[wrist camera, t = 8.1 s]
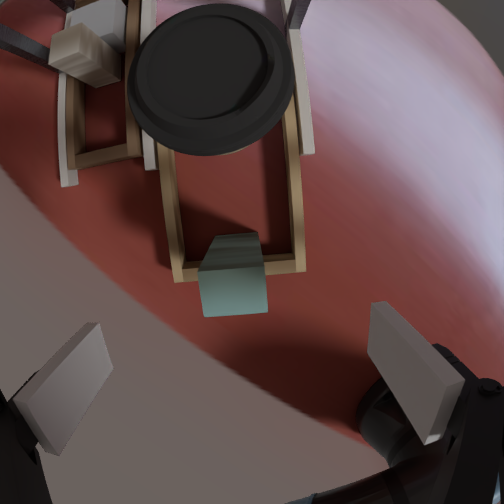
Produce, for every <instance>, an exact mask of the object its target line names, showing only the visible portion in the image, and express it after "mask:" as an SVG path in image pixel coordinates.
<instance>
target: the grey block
mask: <svg viewBox="0 0 504 504" xmlns="http://www.w3.org/2000/svg"><path fill="white" fill-rule="evenodd" d="M127 13H128V8H127V7H126V6H125V5H124V3H123V2H122V1H121V0H99V1H96V2H94V3H91V4H89V5H86V6H84V7H81V8H79V9H76V10H74V11H73V12H72V18H71V24H70V27H71V26H74V25H76V24H78V23H81V22H82V23H84V24H85V25H86V26H87V27H88V28H89V29H91V30H92V31H93V32H94V33H95V34H97V35H98V36H99V37H100V38H101V39H102V40H103V41H105V42H106V43H107V44H108V45H109V46H110V47H112V48H113V49H114V50H115V51H116V52H117V53H118V54H120V53H123V52H125V48H126V28H127Z"/></svg>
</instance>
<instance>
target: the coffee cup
mask: <svg viewBox="0 0 504 504" xmlns="http://www.w3.org/2000/svg"><path fill="white" fill-rule="evenodd" d="M294 83H295V72H294V65H293V61H292V56H291V52H290V49H289V46H288V44H287V42H286V40H285V38H284V36H283V35H282V33H281V32H280V31H279V29H278V28H277V27H276V26H275V25H274V24H273V23H272V22H271V21H269V20H268V19H267V18H265V17H264V16H262V15H261V14H259V13H257V12H255V11H253V10H251V9H248V8H245V7H241V6H237V5H231V4H207V5H201V6H196V7H193V8H190V9H187V10H184V11H182V12H179V13H177V14H175V15H173V16H172V17H170V18H168V19H167V20H165V21H164V22H162V23H161V24H160V25H159V26H157V27H156V28H155V29H154V30H153V31H152V32H151V33H150V34H149V35H148V36H147V37H146V38H145V40H144V41H143V42H142V44H141V45H140V47H139V48H138V50H137V52H136V54H135V56H134V58H133V60H132V63H131V66H130V69H129V73H128V79H127V96H128V102H129V106H130V109H131V112H132V114H133V116H134V118H135V120H136V121H137V123H138V124H139V126H140V127H141V128H142V129H143V130H144V131H145V132H146V133H147V134H148V135H149V136H150V137H151V138H153V139H154V140H155V141H157V142H158V143H160V144H161V145H163V146H165V147H167V148H169V149H171V150H174V151H177V152H180V153H184V154H188V155H196V156H213V155H227V154H231V153H235V152H238V151H240V150H242V149H244V148H246V147H247V146H249V145H250V144H252V143H254V142H255V141H257V140H259V139H260V138H261V137H263V136H264V135H265V134H267V133H268V132H269V131H270V130H271V129H272V128H273V127H274V126H275V125H276V124H277V123H278V121H279V120H280V119H281V117H282V116H283V114H284V113H285V111H286V109H287V107H288V105H289V103H290V100H291V97H292V94H293V90H294Z"/></svg>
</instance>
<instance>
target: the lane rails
mask: <svg viewBox="0 0 504 504" xmlns="http://www.w3.org/2000/svg"><path fill="white" fill-rule="evenodd" d="M75 1H76V0H75ZM280 1H281V7H282V13H283V19H284V26H285V23H286V19H287V15H288V12H289V8H290V5H291V1H292V0H280ZM156 6H157V0H142V13H141V36H140V45H141V44H142V42H143V41H144V40H145V38H146V37H147V36H148V35H149V34H150V33H151V32H152V31H153V30H154V29H155V28H156ZM75 7H76V4H75ZM74 10H75V8H74ZM72 12H73V11H72ZM72 12H70V13H67V16H66V22H65V28H64V29H67V28H69V27H70V24H71V18H72ZM286 39H287V44H288V46H289V49H290V52H291V56H292V61H293V65H294V72H295V83H294V90H293V93H294V101H295V111H296V120H297V130H298V141H299V152H300V155H312V154H315V148H314V137H313V127H312V117H311V108H310V99H309V91H308V83H307V76H306V68H305V61H304V54H303V48H302V41H301V35H300V29H289V26H288V20H287V37H286ZM66 90H67V73H65V72H63V73H60V74H59V87H58V151H59V167H60V179H61V187H69V186H74V185H79V183H78V172H77V170H68V159H67V139H66ZM142 138H143V152H144V164H145V170H151V171H152V170H158V169H159V160H158V147H157V141H155V140H154V139H153V138H151V137H150V136H149V135H148V134H147V133H146V132H145V131H144V130H143V129H142Z"/></svg>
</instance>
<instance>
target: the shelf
mask: <svg viewBox="0 0 504 504" xmlns="http://www.w3.org/2000/svg"><path fill="white" fill-rule="evenodd" d="M50 1H51V2H53V3H54V4H55V5H57V6H58V7H59V8H60V9H62V10H63V11H64V12H66V13H70V12H72V11H74V8H75V0H50ZM310 1H311V0H292V1H291V5H290V8H289V12H288V15H287V19H286V23H285V32H286V37H287V20H288V26H289V29H300V27H301V24H302V22H303V19H304V17H305V14H306V11H307V9H308V6H309V4H310ZM0 48H1V49H3V50H6V51H8V52H11V53H13V54H16V55H18V56H20V57H23V58H25V59H27V60H30V61H32V62H34V63H37V64H39V65H41V66H43V67H45V68H48V69H50V70H52V71H54V72H56V73H59V74H60V73H63V71H61V70H59V69H57V68H55V67H53V66H51V65H48V63H49V55H50V49H49V48H47V47H45V46H43V45H42V44H40V43H38V42H36V41H34V40H32V39H30V38H28V37H26V36H25V35H23V34H21V33H19V32H17V31H15V30H13V29H11V28H9V27H7V26H5V25H3V24H1V23H0Z"/></svg>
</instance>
